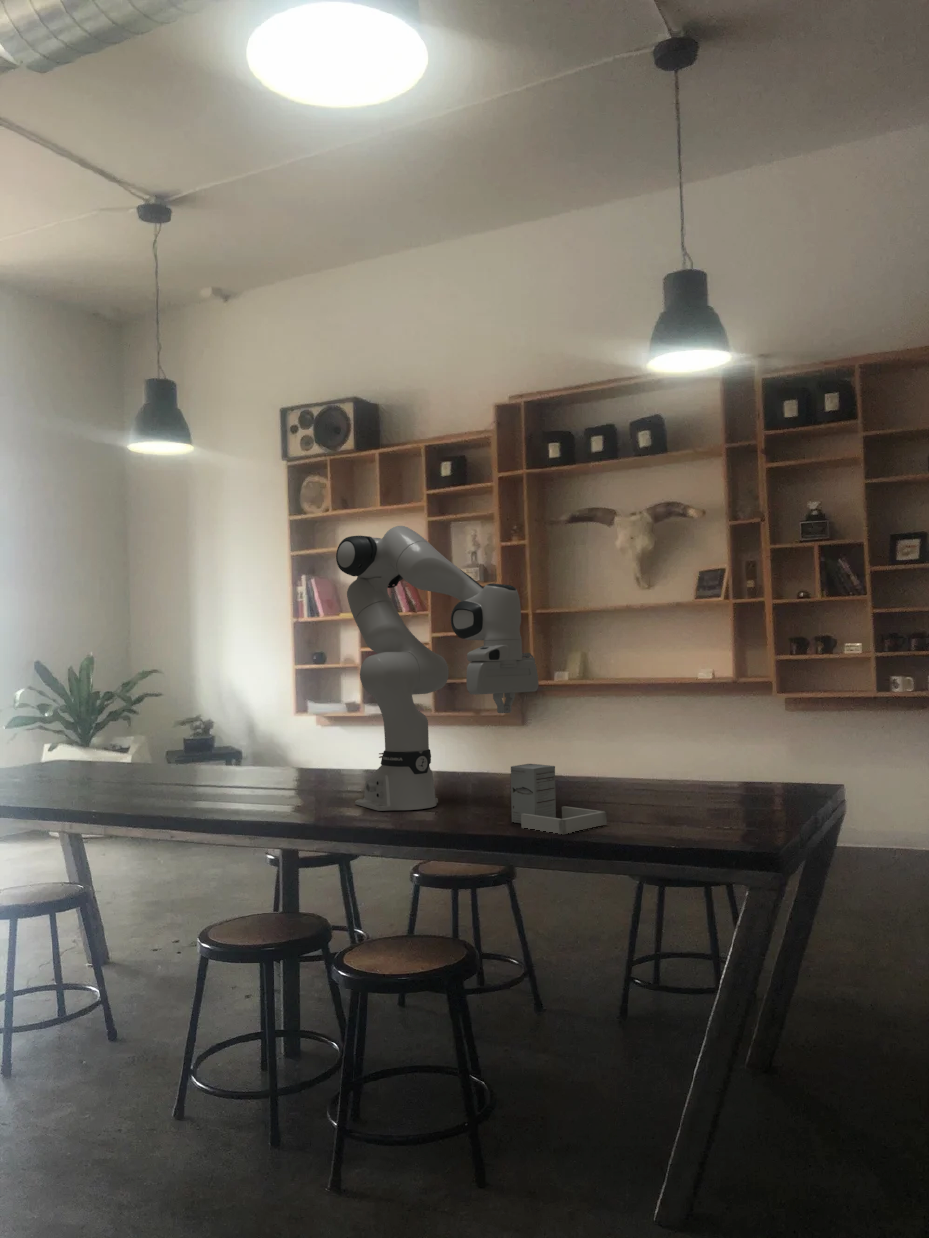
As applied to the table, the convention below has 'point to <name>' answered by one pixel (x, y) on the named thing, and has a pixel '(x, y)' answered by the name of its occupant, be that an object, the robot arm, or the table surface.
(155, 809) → the table surface
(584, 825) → the bay
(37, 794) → the table surface
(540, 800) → the supplement box
